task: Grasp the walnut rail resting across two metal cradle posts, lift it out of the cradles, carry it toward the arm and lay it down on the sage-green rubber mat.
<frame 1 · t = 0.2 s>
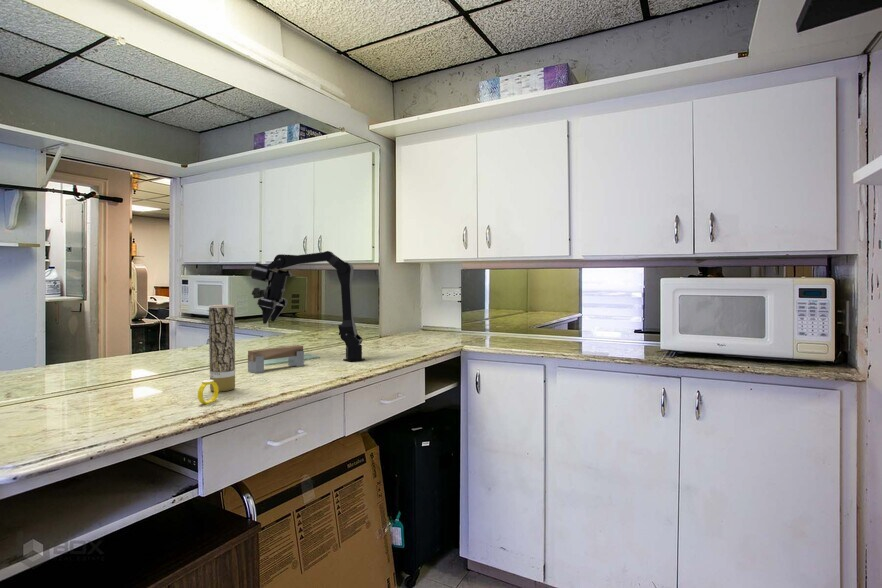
hand: (268, 322, 190), 15 cm above the worktop, tool pointing down, fingers open, 9 cm apart
brown tall cylinder: (222, 390, 139), on the worktop
post 2: (296, 365, 179), on the worktop
mat: (287, 360, 190), on the worktop
rail: (276, 357, 173), point 4 cm above the worktop, touching post 1, post 2
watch: (208, 403, 125), on the worktop
post 1: (255, 371, 167), on the worktop
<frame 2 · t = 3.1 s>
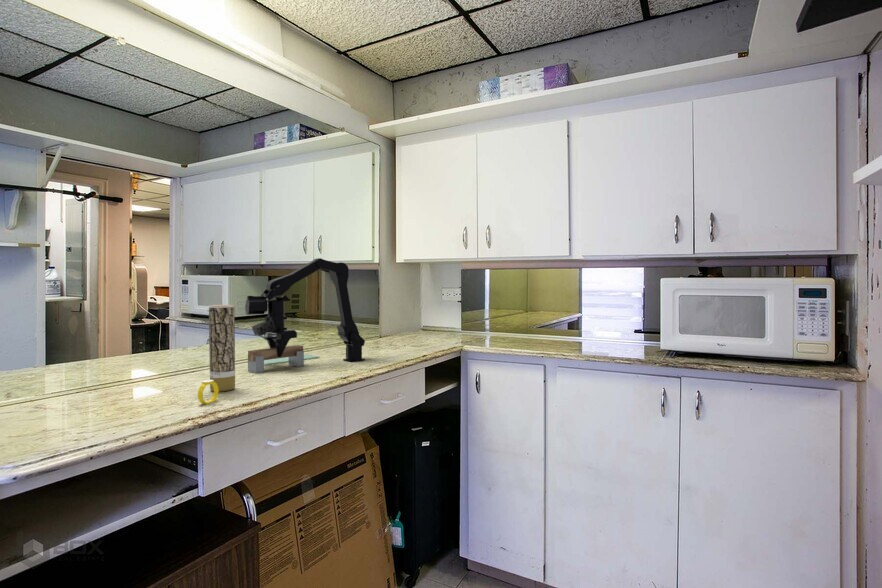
hand: (276, 356, 173), 5 cm above the worktop, tool pointing down, fingers closed on rail, 3 cm apart
rail: (276, 357, 173), point 4 cm above the worktop, touching gripper, post 1, post 2
everything else where it was.
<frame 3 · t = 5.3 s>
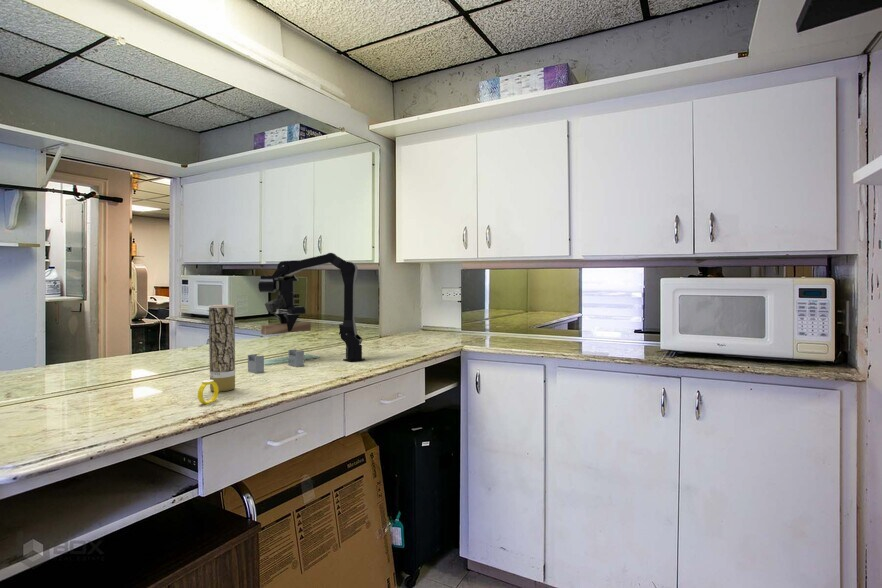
hand: (286, 331, 189), 12 cm above the worktop, tool pointing down, fingers closed on rail, 3 cm apart
rail: (286, 332, 189), point 11 cm above the worktop, touching gripper
everything else where it was.
when the fingers open (2 cm above the worktop, at t = 7.8 s): rail drops 1 cm, resting on mat.
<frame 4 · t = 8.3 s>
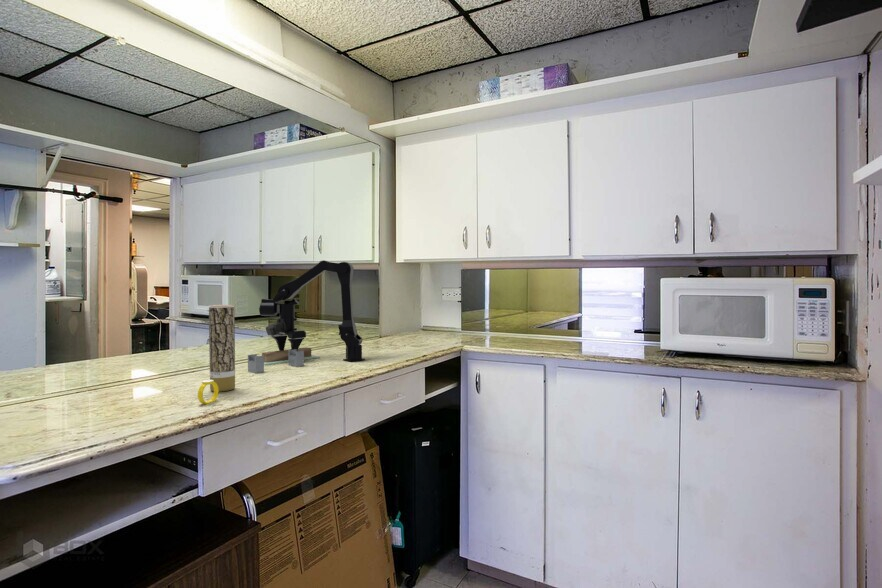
hand: (287, 354, 190), 2 cm above the worktop, tool pointing down, fingers open, 9 cm apart
rail: (287, 358, 190), point 1 cm above the worktop, touching mat
everything else where it was.
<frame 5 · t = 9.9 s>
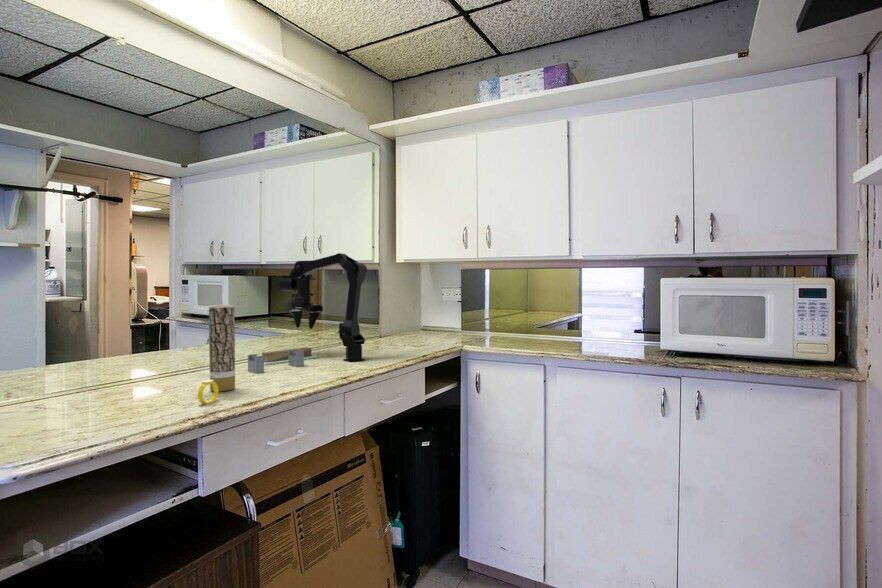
hand: (304, 328, 198), 12 cm above the worktop, tool pointing down, fingers open, 9 cm apart
nothing on the worktop moved.
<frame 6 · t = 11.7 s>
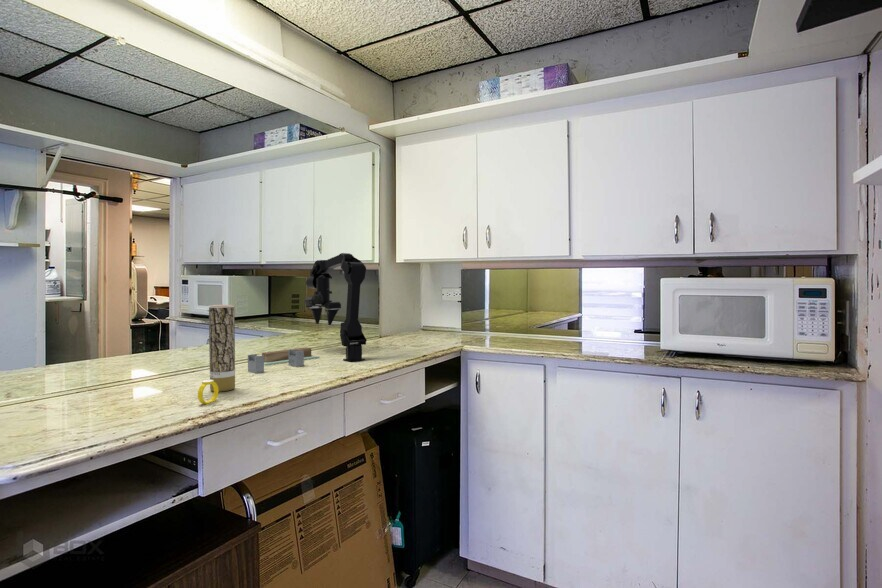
hand: (323, 324, 208), 13 cm above the worktop, tool pointing down, fingers open, 9 cm apart
nothing on the worktop moved.
at the end: rail inside the target area on the mat (0.0 cm from its centre), point 0.6 cm above the mat's base; rail touching mat; the gripper is holding nothing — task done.
